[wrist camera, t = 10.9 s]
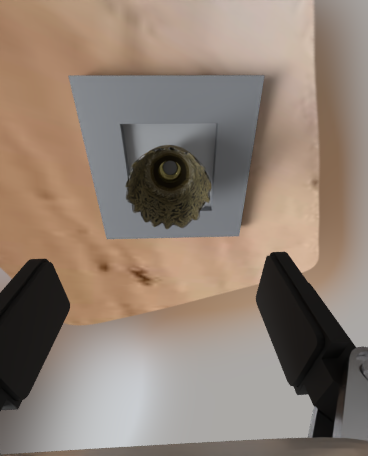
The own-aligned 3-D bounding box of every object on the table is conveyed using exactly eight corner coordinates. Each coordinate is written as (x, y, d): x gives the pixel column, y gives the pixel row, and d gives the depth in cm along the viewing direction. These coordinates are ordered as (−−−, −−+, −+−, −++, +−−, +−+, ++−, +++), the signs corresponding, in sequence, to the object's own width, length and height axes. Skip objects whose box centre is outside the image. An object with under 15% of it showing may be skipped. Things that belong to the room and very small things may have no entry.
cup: (155, 119, 22) (147, 129, 16) (213, 154, 25) (228, 176, 18) (128, 179, 26) (112, 209, 19) (181, 206, 28) (184, 241, 21)
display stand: (78, 77, 21) (68, 75, 19) (256, 77, 22) (264, 75, 20) (111, 229, 31) (106, 239, 29) (234, 227, 31) (238, 236, 29)
